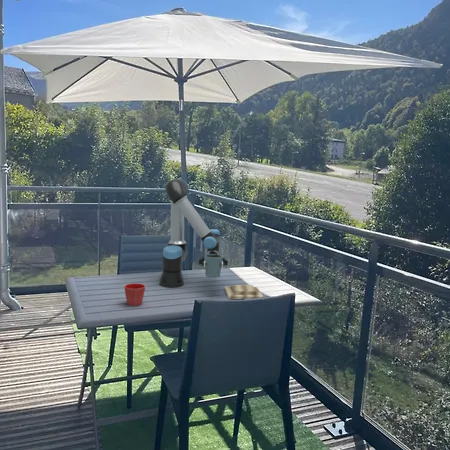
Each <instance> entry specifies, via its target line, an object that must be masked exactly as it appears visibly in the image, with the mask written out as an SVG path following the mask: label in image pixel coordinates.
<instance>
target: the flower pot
mask: <svg viewBox="0 0 450 450" xmlns="http://www.w3.org/2000/svg"><path fill="white" fill-rule="evenodd" d="M145 291H146V285H145V284H143V283H128V284H125V285H124V295H125V299H126V303H127V305H128V306H135V307H136V306H140V305H142V304H143V300H144V295H145Z"/></svg>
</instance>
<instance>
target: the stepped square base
mask: <svg viewBox="0 0 450 450" xmlns="http://www.w3.org/2000/svg"><path fill="white" fill-rule="evenodd" d="M223 288H224V292H225V295H226V296H227V299H228V300H229V301H235V300H234V299H253V298H262V297H264V295H263V294H262V292H261V290H259V288H258V287H257V286H254V285H251V284H231V285H229V286H224V287H223Z"/></svg>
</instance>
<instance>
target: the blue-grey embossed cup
mask: <svg viewBox="0 0 450 450" xmlns="http://www.w3.org/2000/svg"><path fill="white" fill-rule="evenodd" d="M204 257H205V269H204V270H205V271H204V272H205V273H204V274H205V277H208V278H213V279H214V278H219V277H221V270H222V267H221V264H222V258H224V256H223V255H221V254H219V255H218V254H207V253H206V254H205V255H204Z"/></svg>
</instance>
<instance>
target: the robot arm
mask: <svg viewBox="0 0 450 450" xmlns="http://www.w3.org/2000/svg"><path fill="white" fill-rule="evenodd" d="M164 188H165V193H166V195H167V197H168V201H169V203H170V240H169V241H168V244H167V246H165V247H164V248H163V250H162V271H161V275H160V277H159V283H158V284H159V286H161V287H164V288H179V287H183V286H184V283H185V282H184V276H183V273H182V265H183V264H182V263H183V262H184V261H185V260H186V259H187V257H188V248H187V241H185V219H186V220H187V222H188V223H189V224H190V226H191V227H192V229H193V231H195V233H196V234H197V236H198V237H199V238H200V239H201V241H202V243H203V246H204V248H206V249H207V251H206V254H218V255H220V236H221V234H220V230H219V229H213V228H212V229H210V227H208V226H207V224H206V223H205V221H204V220H203V218H202V217H201V216H200V214H199V213H198V212H197V210H196V208H195V207H194V206H193V204H192V203H191V202H190V200H189V199H188V193H189V185H188V183H187V182H186V180H183V178H182V179H181V178H174V179H171V180H169V181H168V182H167V183H166V185H165V187H164ZM228 263H229V261H228V260H227V259H226V258H225V257H222V264H221V269H223V268H224V267H226V266H228V265H229V264H228ZM198 265H201V266H202V267H203V268H205V256H201V258H199V260H198Z"/></svg>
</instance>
